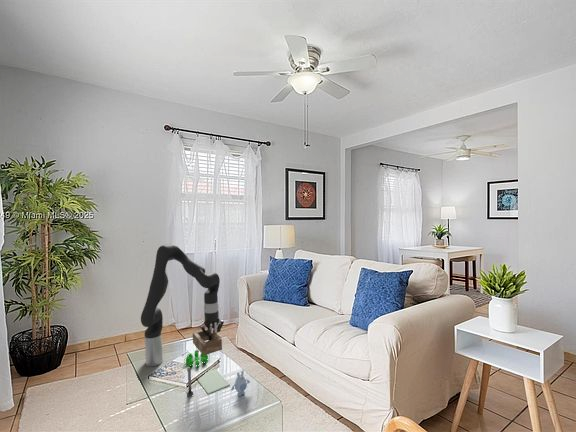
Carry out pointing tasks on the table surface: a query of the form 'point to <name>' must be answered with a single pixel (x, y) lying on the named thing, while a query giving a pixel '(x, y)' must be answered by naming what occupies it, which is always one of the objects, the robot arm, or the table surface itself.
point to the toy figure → (240, 384)
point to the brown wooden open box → (207, 342)
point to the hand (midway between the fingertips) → (212, 340)
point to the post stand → (189, 383)
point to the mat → (213, 381)
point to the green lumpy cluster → (190, 357)
